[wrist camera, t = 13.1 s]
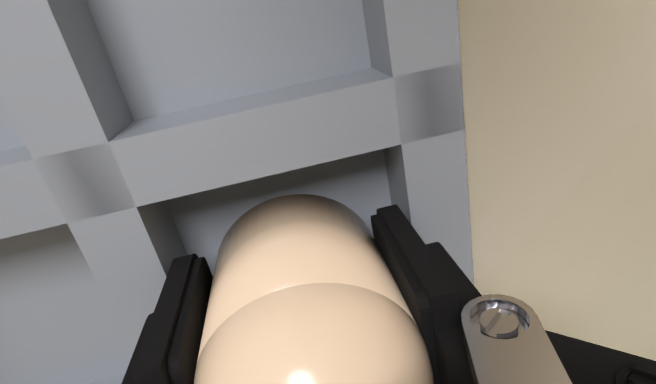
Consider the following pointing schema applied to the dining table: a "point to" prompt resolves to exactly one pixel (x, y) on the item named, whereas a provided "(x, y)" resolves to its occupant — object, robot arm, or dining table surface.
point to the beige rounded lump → (307, 303)
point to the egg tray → (202, 148)
